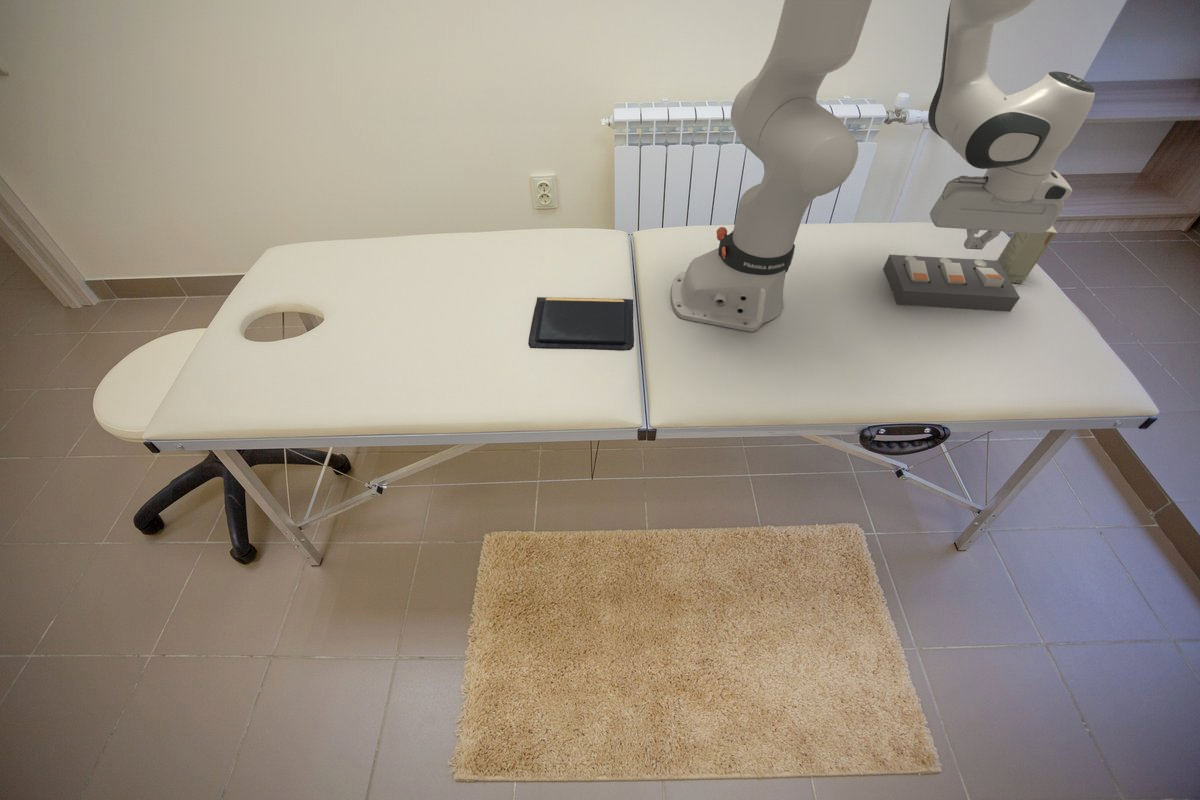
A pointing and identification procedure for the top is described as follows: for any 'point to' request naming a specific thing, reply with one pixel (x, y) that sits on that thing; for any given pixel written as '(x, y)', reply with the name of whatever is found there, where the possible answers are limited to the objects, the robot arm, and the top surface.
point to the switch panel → (945, 294)
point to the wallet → (582, 324)
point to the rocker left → (917, 271)
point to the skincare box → (1024, 253)
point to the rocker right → (989, 277)
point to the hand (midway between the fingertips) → (972, 247)
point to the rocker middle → (952, 273)
